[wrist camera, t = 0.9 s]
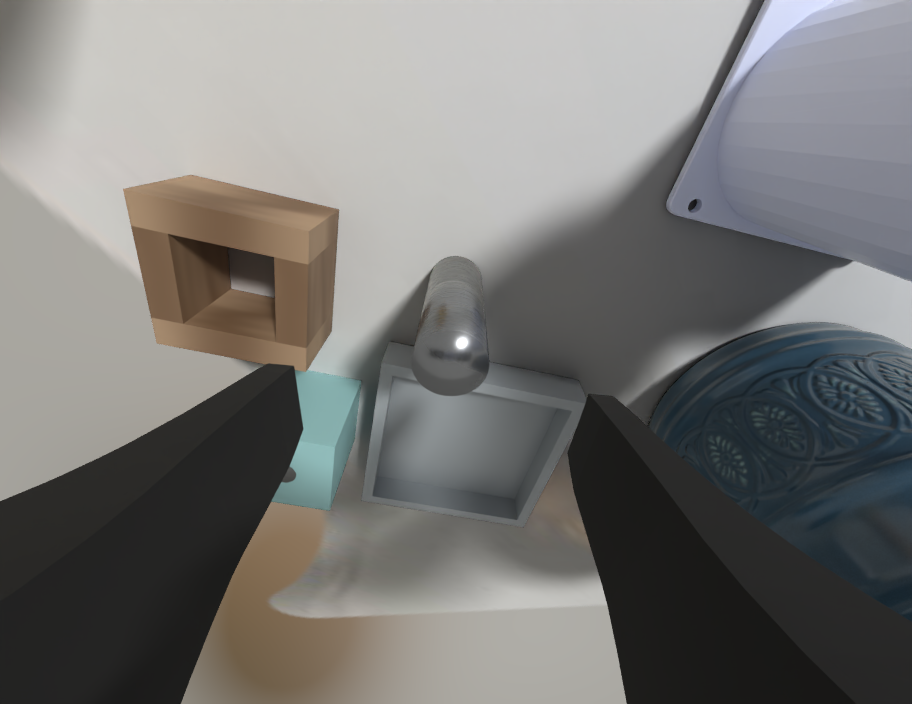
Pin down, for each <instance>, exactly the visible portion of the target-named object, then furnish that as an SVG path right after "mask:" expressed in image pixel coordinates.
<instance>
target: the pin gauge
mask: <svg viewBox="0 0 912 704" xmlns="http://www.w3.org/2000/svg"><path fill="white" fill-rule="evenodd" d="M411 367H412V371H413V374H414V376H415V378H416V379H417V381H418V382H419V383H420V384H421V385H422V386H423V387H424V388H426V389H427V390H429V391H431V392H433V393H436V394H439V395H443V396H459V395H464V394H467V393H469V392H471V391H473V390H475V389H476V388H478V387H479V386H480V385H481V384H482V383H483V381H484V380H485V378H486V377H487V374H488V371H489V354H488V343H487V332H486V322H485V311H484V300H483V289H482V279H481V274H480V271H479V269H478V268H477V266H476V265H475V264H474V263H473V262H472V261H470V260H468V259H466V258H464V257H459V256H451V257H447V258H444V259H443V260H441V261H439V262H438V263H437V264H436V265H435V266H434V268H433V270H432V272H431V275H430V279H429V284H428V288H427V292H426V297H425V301H424V306H423V310H422V314H421V319H420V323H419V328H418V332H417V336H416V341H415V345H414V349H413V354H412V359H411Z"/></svg>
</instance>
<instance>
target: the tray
mask: <svg viewBox="0 0 912 704" xmlns="http://www.w3.org/2000/svg"><path fill="white" fill-rule="evenodd" d="M413 349H414V346H409V345H404V344H399V343H394V342H389V343H388V346H387V348H386V351H385V354H384V357H383V360H382V363H381V370H380V376H379V383H378V390H377V397H376V403H375V410H374V417H373V424H372V431H371V437H370V444H369V451H368V458H367V464H366V471H365V478H364V485H363V492H362V498H361V501H365V502H371V503H378V504H384V505H390V506H396V507H402V508H408V509H414V510H420V511H427V512H433V513H439V514H445V515H451V516H457V517H463V518H469V519H476V520H482V521H488V522H494V523H500V524H506V525H512V526H518V527H524V526H525V524H526V522H527V520H528V518H529V516H530V514H531V512H532V510H533V509H534V507H535V505H536V503H537V501H538V499H539V497H540V495H541V493H542V491H543V490H544V488H545V486H546V484H547V482H548V480H549V478H550V476H551V474H552V472H553V471H554V469H555V467H556V465H557V463H558V461H559V459H560V457H561V455H562V453H563V452H564V450H565V448H566V446H567V444H568V442H569V440H570V438H571V436H572V435H573V433H574V431H575V429H576V427H577V425H578V423H579V420H580V417H581V414H582V411H583V409H584V406H585V403H586V400H587V399H586V397H585V395H584V392H583V390H582V388H581V385H580V383H579V380H575V379H570V378H565V377H560V376H556V375H551V374H546V373H541V372H536V371H531V370H526V369H521V368H516V367H512V366H507V365H502V364H497V363H492V362H489V371H488V374H487V377H486V378H485V380H484V381H483V383H482V384H481V385H480V386H479V387H478V388H476V389H475V390H473V391H471V392H469V393H467V394H464V395H459V396H443V395H439V394H436V393H433V392H431V391H429V390H427V389H426V388H424V387H423V386H422V385H421V384H420V383H419V382H418V381H417V379H416V378H415V376H414V374H413V371H412V367H411V359H412V354H413Z"/></svg>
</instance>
